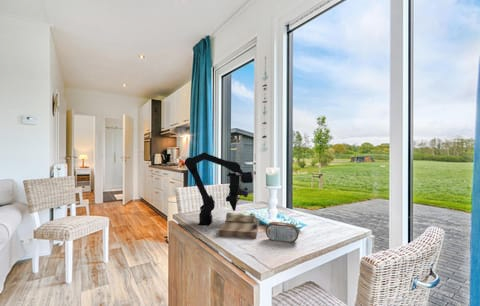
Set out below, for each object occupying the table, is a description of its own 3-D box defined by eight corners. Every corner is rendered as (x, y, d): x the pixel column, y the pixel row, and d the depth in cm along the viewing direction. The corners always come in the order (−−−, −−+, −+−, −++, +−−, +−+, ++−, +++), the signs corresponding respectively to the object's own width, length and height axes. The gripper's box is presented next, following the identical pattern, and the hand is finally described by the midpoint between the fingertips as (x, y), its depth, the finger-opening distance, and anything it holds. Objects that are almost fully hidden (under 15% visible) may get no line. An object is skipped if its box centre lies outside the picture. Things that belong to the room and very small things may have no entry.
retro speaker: (298, 241, 108) (298, 223, 108) (298, 244, 105) (298, 225, 105) (266, 238, 112) (266, 220, 112) (265, 240, 109) (265, 222, 109)
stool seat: (218, 236, 114) (218, 226, 114) (228, 222, 136) (228, 213, 136) (256, 238, 111) (256, 228, 111) (259, 223, 133) (259, 215, 133)
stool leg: (226, 220, 128) (226, 213, 128) (227, 218, 131) (227, 211, 131) (254, 222, 126) (254, 214, 125) (255, 220, 129) (255, 213, 129)
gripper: (246, 186, 125) (246, 215, 126) (250, 181, 144) (249, 207, 144) (225, 186, 127) (225, 214, 127) (232, 181, 145) (232, 206, 146)
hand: (234, 210), depth 136 cm, fingers closed
